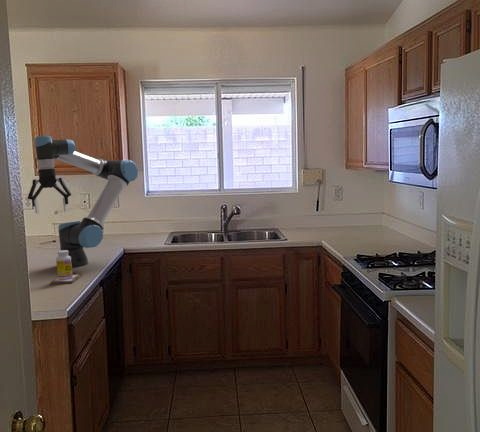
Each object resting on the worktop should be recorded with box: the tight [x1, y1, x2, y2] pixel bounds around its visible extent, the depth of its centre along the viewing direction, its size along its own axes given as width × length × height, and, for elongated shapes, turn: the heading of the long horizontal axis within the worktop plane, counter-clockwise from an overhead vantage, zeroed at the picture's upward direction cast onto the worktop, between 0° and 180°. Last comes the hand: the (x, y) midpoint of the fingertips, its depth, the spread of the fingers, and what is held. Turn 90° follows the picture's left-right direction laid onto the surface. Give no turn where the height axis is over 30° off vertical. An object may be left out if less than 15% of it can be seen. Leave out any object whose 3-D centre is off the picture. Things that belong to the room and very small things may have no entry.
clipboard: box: [49, 270, 83, 286], centre depth 243 cm, size 16×10×2 cm, turn 1°
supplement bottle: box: [55, 250, 73, 280], centre depth 241 cm, size 7×7×13 cm
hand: (51, 212), depth 252 cm, fingers open, 13 cm apart
